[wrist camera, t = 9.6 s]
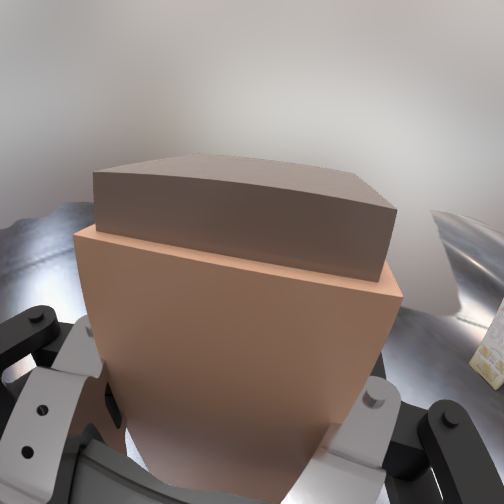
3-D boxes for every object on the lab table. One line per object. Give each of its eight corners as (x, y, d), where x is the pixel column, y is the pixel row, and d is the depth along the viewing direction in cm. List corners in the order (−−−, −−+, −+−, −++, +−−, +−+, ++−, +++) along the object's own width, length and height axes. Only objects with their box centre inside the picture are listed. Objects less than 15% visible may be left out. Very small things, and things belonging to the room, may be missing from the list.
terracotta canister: (277, 512, 7) (426, 221, 3) (152, 477, 8) (68, 174, 4) (295, 420, 12) (363, 174, 7) (194, 396, 12) (194, 152, 8)
